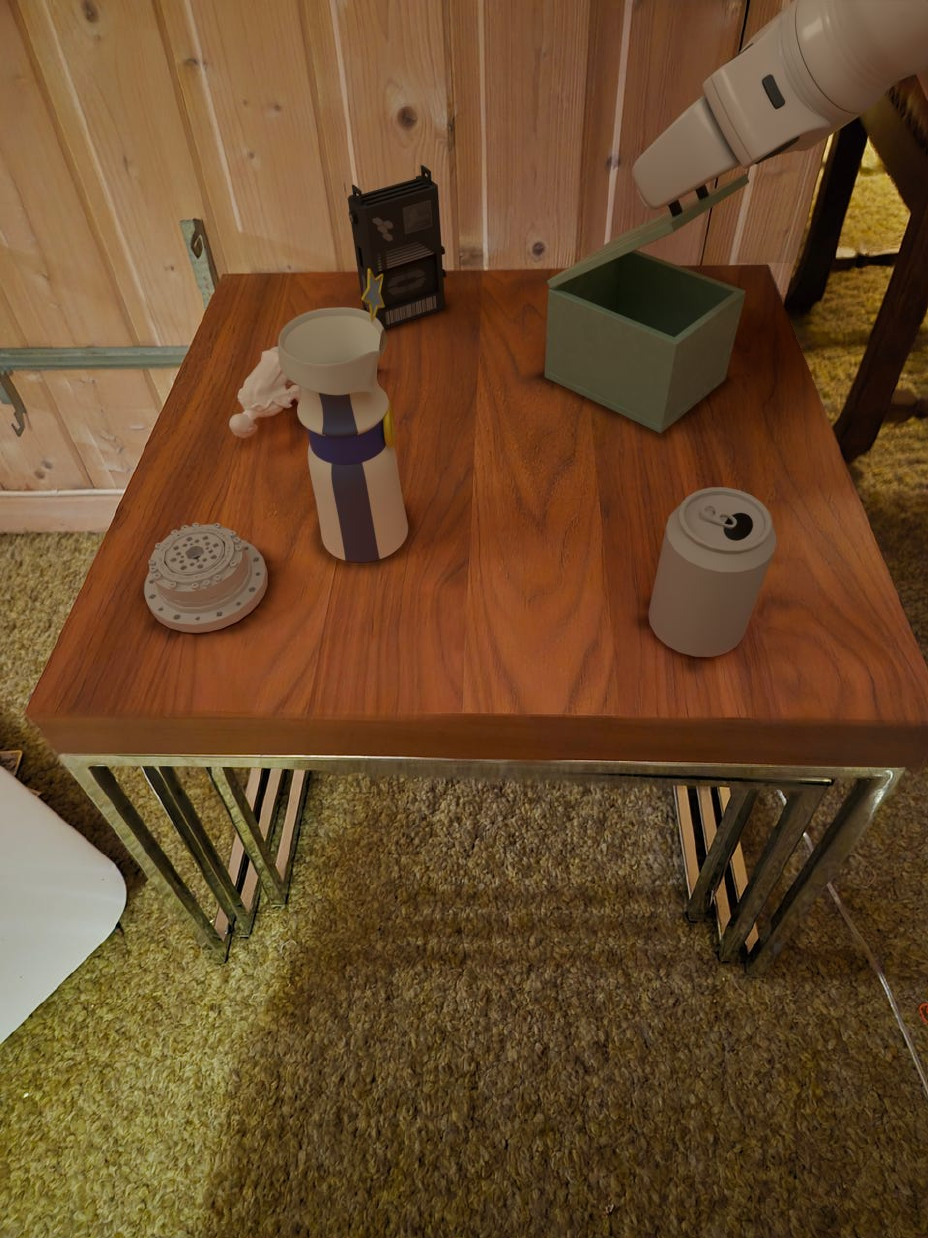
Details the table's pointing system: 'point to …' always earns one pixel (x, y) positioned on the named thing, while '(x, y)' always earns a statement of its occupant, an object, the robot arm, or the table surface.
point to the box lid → (651, 229)
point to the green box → (642, 336)
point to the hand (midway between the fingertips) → (666, 183)
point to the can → (711, 571)
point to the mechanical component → (204, 579)
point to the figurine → (263, 394)
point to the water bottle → (347, 426)
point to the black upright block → (400, 247)
